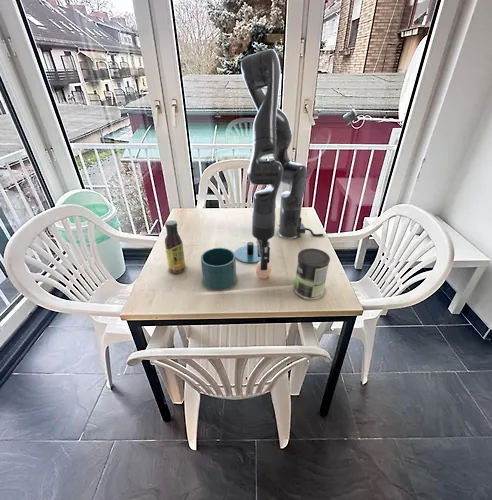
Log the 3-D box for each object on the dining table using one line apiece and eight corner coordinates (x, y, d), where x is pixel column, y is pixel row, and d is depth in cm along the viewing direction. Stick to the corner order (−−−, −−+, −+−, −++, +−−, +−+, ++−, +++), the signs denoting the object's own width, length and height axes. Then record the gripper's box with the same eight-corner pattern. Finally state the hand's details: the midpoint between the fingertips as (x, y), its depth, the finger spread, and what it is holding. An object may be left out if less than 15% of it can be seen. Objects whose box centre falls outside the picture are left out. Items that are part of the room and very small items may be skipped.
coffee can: (295, 299, 96) (299, 265, 88) (293, 280, 105) (296, 247, 97) (326, 300, 96) (333, 266, 88) (321, 281, 104) (326, 248, 97)
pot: (234, 269, 110) (234, 246, 104) (237, 289, 100) (236, 265, 94) (203, 272, 108) (201, 248, 103) (203, 292, 99) (200, 267, 93)
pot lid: (263, 246, 124) (263, 234, 121) (268, 263, 114) (268, 250, 110) (233, 248, 123) (233, 236, 120) (236, 265, 112) (235, 253, 109)
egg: (260, 284, 103) (261, 266, 99) (252, 275, 107) (252, 259, 103) (273, 278, 105) (274, 262, 101) (265, 271, 109) (265, 254, 105)
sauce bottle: (177, 276, 106) (169, 229, 96) (165, 270, 109) (156, 224, 98) (189, 267, 111) (183, 221, 100) (177, 262, 114) (170, 217, 103)
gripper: (278, 232, 88) (275, 274, 97) (271, 212, 100) (269, 251, 109) (254, 233, 87) (254, 275, 96) (250, 213, 99) (249, 252, 108)
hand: (262, 262), depth 102 cm, fingers open, 8 cm apart
